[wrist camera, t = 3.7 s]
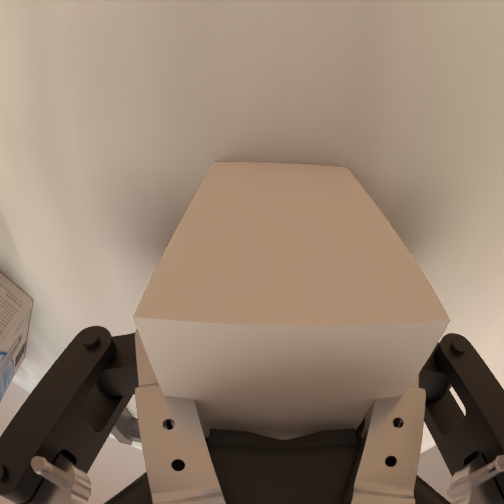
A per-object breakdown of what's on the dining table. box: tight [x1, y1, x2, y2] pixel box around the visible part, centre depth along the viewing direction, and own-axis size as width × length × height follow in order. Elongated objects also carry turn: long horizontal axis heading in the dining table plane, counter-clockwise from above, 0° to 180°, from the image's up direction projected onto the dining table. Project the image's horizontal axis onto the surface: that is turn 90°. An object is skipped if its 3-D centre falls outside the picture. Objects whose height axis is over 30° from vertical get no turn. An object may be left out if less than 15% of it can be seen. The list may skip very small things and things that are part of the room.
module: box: [133, 162, 450, 440], centre depth 10 cm, size 5×8×8 cm, turn 0°
